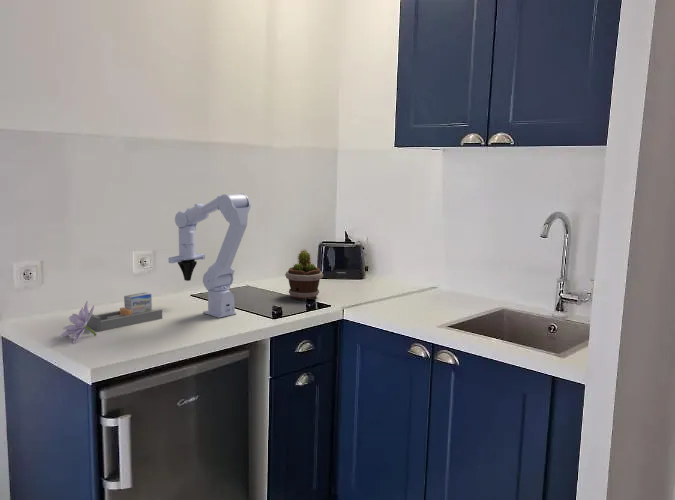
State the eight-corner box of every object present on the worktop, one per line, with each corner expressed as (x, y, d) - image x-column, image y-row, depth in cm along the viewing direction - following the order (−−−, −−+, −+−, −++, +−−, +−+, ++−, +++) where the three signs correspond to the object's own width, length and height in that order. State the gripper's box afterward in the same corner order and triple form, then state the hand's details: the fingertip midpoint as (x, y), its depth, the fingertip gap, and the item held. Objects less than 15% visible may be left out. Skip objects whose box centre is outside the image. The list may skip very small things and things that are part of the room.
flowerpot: (322, 302, 234) (323, 251, 231) (283, 301, 234) (283, 250, 231) (323, 293, 248) (324, 246, 245) (286, 293, 248) (287, 245, 245)
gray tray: (162, 318, 205) (162, 305, 205) (97, 331, 189) (96, 318, 188) (148, 313, 211) (148, 301, 211) (84, 326, 194) (83, 312, 194)
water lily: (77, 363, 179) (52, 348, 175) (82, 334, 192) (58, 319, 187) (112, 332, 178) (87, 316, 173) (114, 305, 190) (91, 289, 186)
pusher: (132, 322, 199) (131, 310, 198) (111, 326, 194) (111, 314, 193) (123, 318, 203) (123, 307, 202) (103, 322, 197) (102, 311, 197)
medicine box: (131, 322, 200) (130, 297, 198) (124, 320, 202) (123, 295, 201) (152, 318, 205) (151, 293, 204) (145, 316, 208) (144, 291, 207)
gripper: (197, 241, 227) (197, 276, 229) (163, 244, 217) (164, 281, 219) (208, 243, 223) (208, 278, 225) (174, 246, 212) (175, 284, 214)
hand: (187, 280), depth 221 cm, fingers closed
